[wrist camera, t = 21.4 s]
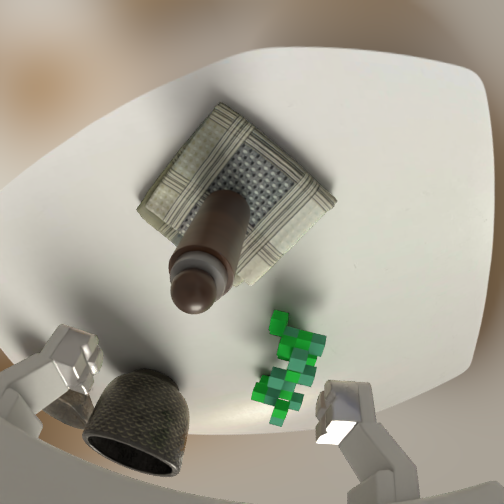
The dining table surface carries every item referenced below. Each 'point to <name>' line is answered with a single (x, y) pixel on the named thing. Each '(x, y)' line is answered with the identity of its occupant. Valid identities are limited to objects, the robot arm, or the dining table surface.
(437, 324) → the dining table surface
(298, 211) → the dish towel
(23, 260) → the dining table surface
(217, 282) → the pepper mill
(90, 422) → the planter
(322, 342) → the building blocks
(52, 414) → the bowl
